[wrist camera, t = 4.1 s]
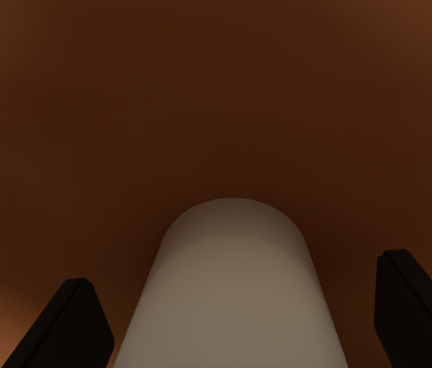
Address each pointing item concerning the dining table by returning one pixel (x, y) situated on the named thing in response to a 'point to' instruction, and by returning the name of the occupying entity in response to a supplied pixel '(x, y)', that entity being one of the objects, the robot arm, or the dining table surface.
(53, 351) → the robot arm
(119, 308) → the dining table surface
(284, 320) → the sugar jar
